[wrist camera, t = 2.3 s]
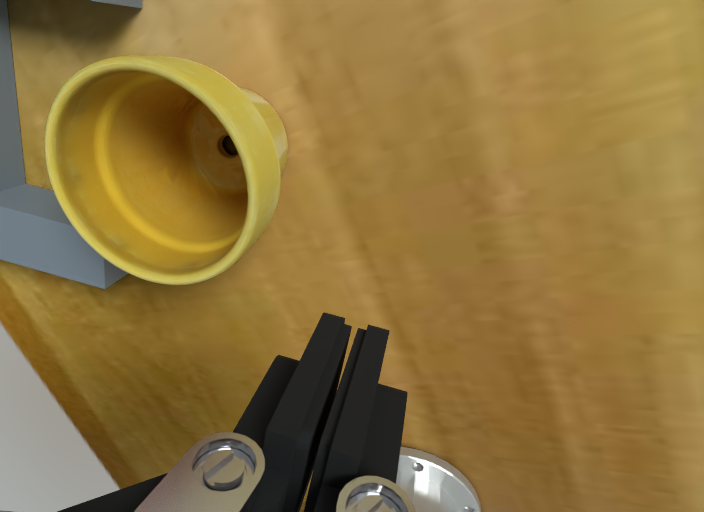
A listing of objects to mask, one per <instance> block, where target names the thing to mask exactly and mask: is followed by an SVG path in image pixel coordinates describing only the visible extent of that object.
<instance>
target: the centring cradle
mask: <svg viewBox="0 0 704 512" xmlns="http://www.w3.org/2000/svg"><path fill="white" fill-rule="evenodd" d="M91 1H96V2H103V3H110V4H116V5H123V6H130V7H137V8H142V0H91ZM0 259H1V260H4V261H8V262H11V263H15V264H18V265H22V266H25V267H29V268H32V269H36V270H39V271H43V272H46V273H50V274H53V275H57V276H60V277H64V278H67V279H71V280H74V281H78V282H81V283H85V284H88V285H92V286H95V287H99V288H102V289H106V288H108V287H109V286H111V285H112V284H114V283H115V282H117V281H118V280H120V279H121V278H122V277H124V276H125V275H127V274H128V273H127V272H125V271H123V270H121V269H120V268H118V267H116V266H115V265H113V264H112V263H110V262H109V261H107V260H106V259H105V258H103V257H102V256H101V255H100V254H98V253H97V252H96V251H95V250H94V249H93V248H92V247H91V246H90V245H89V244H88V243H87V242H86V241H85V240H84V239H83V238H82V237H81V236H80V234H79V233H78V232H77V231H76V230H75V228H74V227H73V226H72V224H71V223H70V221H69V220H68V218H67V216H66V215H65V213H64V212H63V210H62V208H61V206H60V204H59V202H58V200H57V198H56V195H55V193H54V191H52V190H48V189H44V188H40V187H37V186H33V185H29V184H26V180H25V170H24V161H23V151H22V142H21V132H20V123H19V113H18V104H17V94H16V85H15V75H14V66H13V57H12V47H11V38H10V28H9V19H8V9H7V0H0Z"/></svg>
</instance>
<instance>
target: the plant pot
mask: <svg viewBox="0 0 704 512" xmlns="http://www.w3.org/2000/svg"><path fill="white" fill-rule="evenodd" d="M226 136H230V137H231V139H232V141H233V143H234V145H235V147H236V149H237V151H238V154H237V155H234V156H233V155H230V154H228V153H227V152H226V151H225V150H224V148H223V146H222V141H223V139H224V138H225V137H226ZM44 149H45V159H46V166H47V171H48V175H49V178H50V182H51V185H52V188H53V191H54V193H55V195H56V198H57V200H58V202H59V204H60V206H61V208H62V210H63V212H64V213H65V215H66V216H67V218H68V220H69V221H70V223H71V224H72V226H73V227H74V228H75V230H76V231H77V232H78V233H79V234H80V236H81V237H82V238H83V239H84V240H85V241H86V242H87V243H88V244H89V245H90V246H91V247H92V248H93V249H94V250H95V251H96V252H97V253H98V254H100V255H101V256H102V257H103V258H105V259H106V260H107V261H109V262H110V263H112V264H113V265H115V266H116V267H118V268H120V269H121V270H123V271H125V272H127V273H129V274H131V275H134V276H136V277H138V278H141V279H144V280H147V281H150V282H154V283H160V284H167V285H188V284H194V283H199V282H203V281H206V280H209V279H211V278H213V277H215V276H218V275H219V274H221V273H223V272H224V271H226V270H227V269H228V268H230V267H231V266H232V265H233V264H234V263H236V262H237V261H238V260H239V259H240V258H241V257H242V256H243V255H244V254H245V253H246V252H247V251H248V250H249V249H250V248H251V247H252V246H253V245H254V243H255V242H256V241H257V240H258V239H259V237H260V236H261V235H262V234H263V232H264V231H265V230H266V228H267V227H268V225H269V223H270V221H271V219H272V217H273V215H274V213H275V210H276V207H277V203H278V199H279V193H280V177H281V175H282V173H283V170H284V167H285V165H286V161H287V154H288V141H287V136H286V132H285V129H284V126H283V123H282V121H281V119H280V117H279V116H278V114H277V113H276V111H275V110H274V109H273V107H272V106H271V105H270V104H269V103H268V102H267V101H266V100H264V99H263V98H262V97H260V96H259V95H257V94H256V93H254V92H252V91H250V90H247V89H244V88H241V87H237V86H236V85H235V84H233V83H232V82H231V81H230V80H228V79H227V78H226V77H224V76H223V75H221V74H220V73H218V72H216V71H214V70H213V69H211V68H209V67H207V66H205V65H202V64H200V63H197V62H194V61H191V60H187V59H183V58H177V57H169V56H155V55H140V56H121V57H113V58H108V59H104V60H101V61H98V62H95V63H93V64H90V65H88V66H86V67H85V68H83V69H81V70H80V71H78V72H77V73H76V74H74V75H73V76H72V77H71V78H70V79H69V80H68V81H67V82H66V83H65V84H64V86H63V87H62V88H61V90H60V91H59V93H58V94H57V96H56V98H55V100H54V102H53V104H52V106H51V109H50V112H49V116H48V119H47V123H46V129H45V147H44Z"/></svg>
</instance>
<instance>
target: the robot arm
mask: <svg viewBox="0 0 704 512" xmlns="http://www.w3.org/2000/svg"><path fill="white" fill-rule="evenodd" d="M344 322H345V318H343V317H339V316H335V315H332V314H328V313H323V314H322V316H321V318H320V320H319V323H318V325H317V327H316V329H315V331H314V333H313V335H312V337H311V339H310V341H309V343H308V345H307V347H306V349H305V351H304V353H303V355H302V357H301V359H300V361H298V360H295V359H291V358H288V357H284V356H281V355H278V356H276V358H275V359H274V361H273V363H272V365H271V366H270V368H269V370H268V372H267V373H266V375H265V377H264V378H263V380H262V382H261V384H260V385H259V387H258V389H257V391H256V392H255V394H254V396H253V398H252V399H251V401H250V403H249V405H248V406H247V408H246V410H245V412H244V413H243V415H242V417H241V419H240V420H239V422H238V424H237V426H236V427H235V429H234V431H233V432H221V433H216V434H211V435H209V436H207V437H205V438H203V439H201V440H199V441H198V442H197V443H196V444H194V445H193V446H192V447H191V448H190V449H189V450H188V451H187V452H186V454H185V455H184V456H183V457H182V458H181V459H180V460H179V461H178V463H177V464H176V465H175V466H174V467H173V468H172V469H171V470H170V472H169V473H166V474H164V475H161V476H158V477H155V478H152V479H149V480H146V481H144V482H141V483H138V484H135V485H132V486H129V487H126V488H124V489H121V490H118V491H115V492H112V493H109V494H107V495H104V496H101V497H98V498H95V499H92V500H90V501H86V502H84V503H81V504H78V505H75V506H72V507H69V508H66V509H64V510H61V511H58V512H299V511H300V508H301V505H302V502H303V499H304V496H305V493H306V490H307V487H308V484H309V481H310V478H311V475H312V478H311V483H310V487H309V492H308V496H307V500H306V505H305V509H304V512H481V508H480V501H479V499H478V496H477V494H476V491H475V490H474V488H473V487H472V485H471V484H470V482H469V481H468V480H467V479H466V478H465V477H464V476H463V474H462V473H461V472H460V471H459V470H457V469H456V468H454V467H453V466H452V465H450V464H449V463H447V462H446V461H444V460H442V459H440V458H438V457H436V456H434V455H432V454H429V453H426V452H423V451H420V450H417V449H412V448H406V447H401V441H402V433H403V425H404V417H405V409H406V402H407V392H406V391H402V390H399V389H395V388H392V387H388V386H385V385H381V384H378V381H379V376H380V372H381V367H382V362H383V358H384V353H385V349H386V344H387V340H388V335H389V330H386V329H382V328H379V327H375V326H371V325H368V327H367V330H364V329H360V328H358V330H357V333H356V336H355V339H354V342H353V345H352V348H351V351H350V354H349V357H348V360H347V363H346V366H345V369H344V372H343V375H342V378H341V381H340V384H339V379H340V375H341V371H342V367H343V362H344V358H345V354H346V349H347V345H348V341H349V337H350V332H351V327H352V326H349V325H346V324H344ZM338 384H339V387H338ZM337 388H338V390H337ZM336 392H337V393H336ZM312 472H313V474H312ZM0 512H11V511H0Z"/></svg>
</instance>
